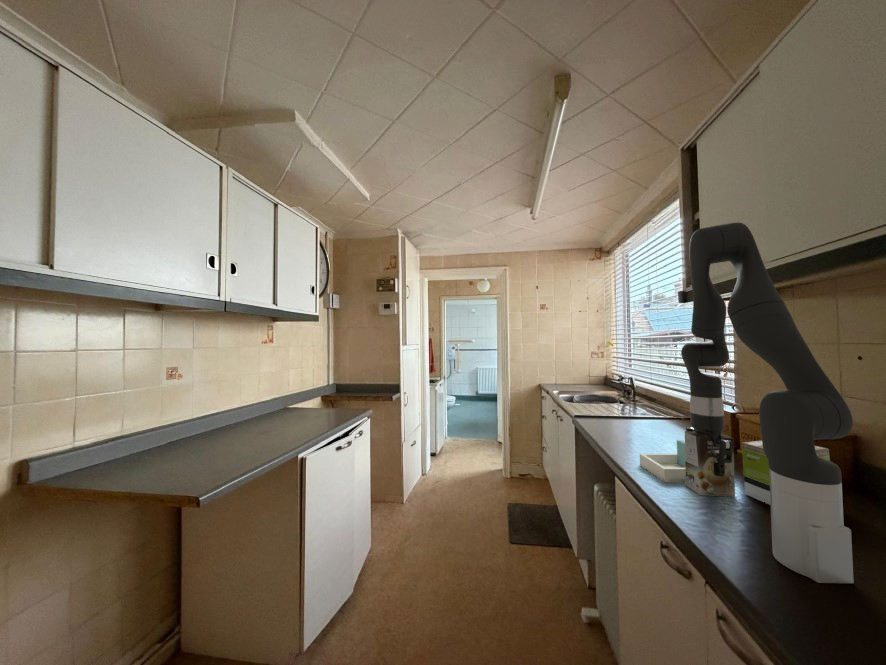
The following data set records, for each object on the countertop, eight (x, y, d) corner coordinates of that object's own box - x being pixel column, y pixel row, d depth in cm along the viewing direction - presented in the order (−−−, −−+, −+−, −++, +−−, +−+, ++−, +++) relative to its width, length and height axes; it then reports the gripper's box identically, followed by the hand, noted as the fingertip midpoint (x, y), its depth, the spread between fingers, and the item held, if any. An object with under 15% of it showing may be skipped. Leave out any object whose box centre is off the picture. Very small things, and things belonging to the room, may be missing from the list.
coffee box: (700, 496, 88) (698, 437, 88) (685, 485, 94) (683, 430, 94) (736, 497, 87) (734, 437, 87) (718, 486, 93) (716, 431, 93)
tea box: (786, 489, 91) (784, 436, 91) (835, 507, 81) (832, 448, 81) (742, 494, 88) (740, 440, 89) (786, 513, 78) (784, 453, 79)
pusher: (706, 476, 97) (705, 450, 97) (701, 476, 97) (700, 450, 97) (682, 462, 107) (681, 440, 107) (677, 463, 107) (676, 440, 108)
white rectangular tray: (726, 482, 95) (725, 468, 95) (664, 482, 96) (664, 469, 96) (694, 465, 108) (693, 453, 108) (640, 465, 109) (639, 453, 109)
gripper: (742, 418, 83) (745, 482, 83) (700, 406, 98) (702, 461, 97) (713, 418, 84) (715, 481, 83) (675, 406, 98) (677, 461, 98)
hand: (708, 470), depth 90 cm, fingers closed on coffee box, 6 cm apart
